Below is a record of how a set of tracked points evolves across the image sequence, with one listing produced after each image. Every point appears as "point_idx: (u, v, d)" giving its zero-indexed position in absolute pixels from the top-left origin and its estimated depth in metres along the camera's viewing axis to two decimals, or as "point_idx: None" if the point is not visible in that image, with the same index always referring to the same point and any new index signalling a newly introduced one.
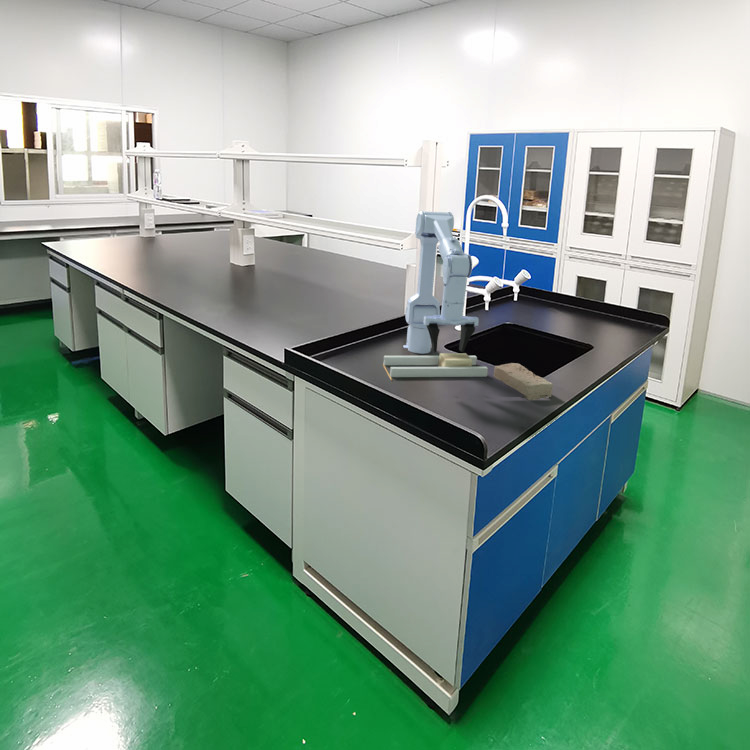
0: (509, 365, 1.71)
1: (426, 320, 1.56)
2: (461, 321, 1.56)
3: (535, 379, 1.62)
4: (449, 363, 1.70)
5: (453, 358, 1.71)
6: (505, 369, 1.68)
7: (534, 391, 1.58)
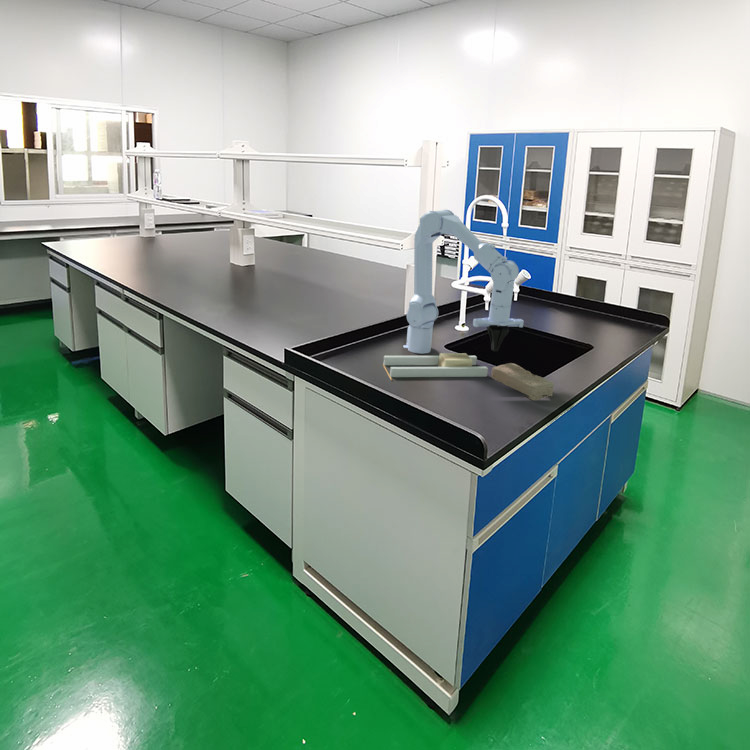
0: (506, 365, 1.70)
1: (476, 322, 1.69)
2: (508, 323, 1.69)
3: (536, 379, 1.62)
4: (449, 363, 1.70)
5: (453, 358, 1.71)
6: (504, 370, 1.67)
7: (538, 391, 1.58)
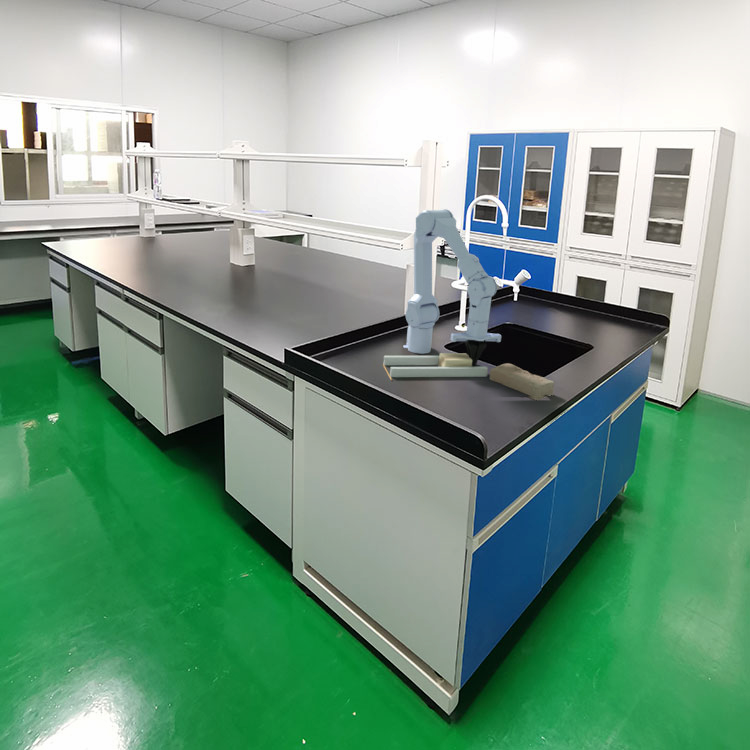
0: (503, 366, 1.70)
1: (453, 337, 1.70)
2: (485, 338, 1.70)
3: (536, 379, 1.63)
4: (449, 363, 1.70)
5: (453, 358, 1.71)
6: (503, 371, 1.66)
7: (541, 391, 1.58)
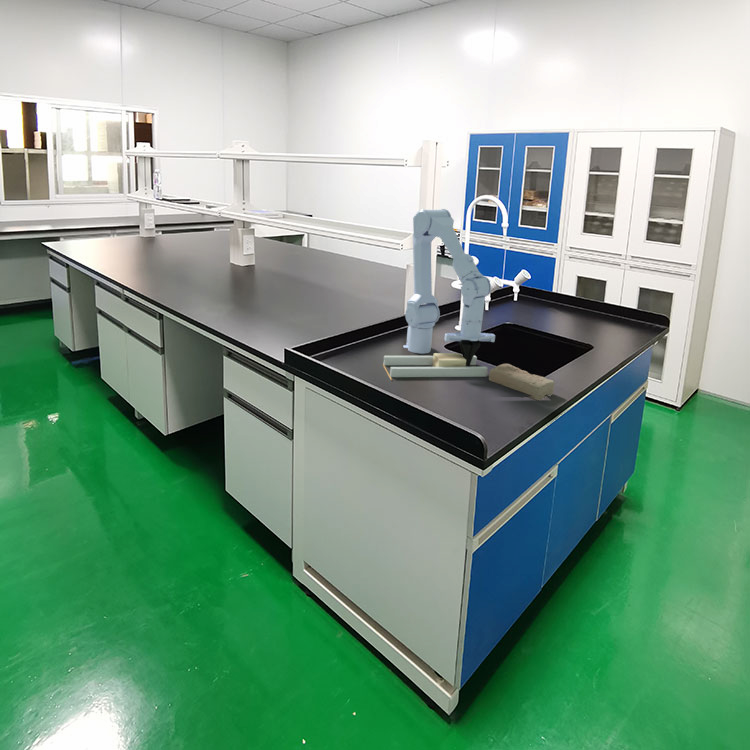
0: (502, 367, 1.69)
1: (447, 337, 1.69)
2: (479, 338, 1.69)
3: (536, 378, 1.63)
4: (443, 363, 1.70)
5: (447, 358, 1.71)
6: (502, 372, 1.66)
7: (542, 391, 1.58)
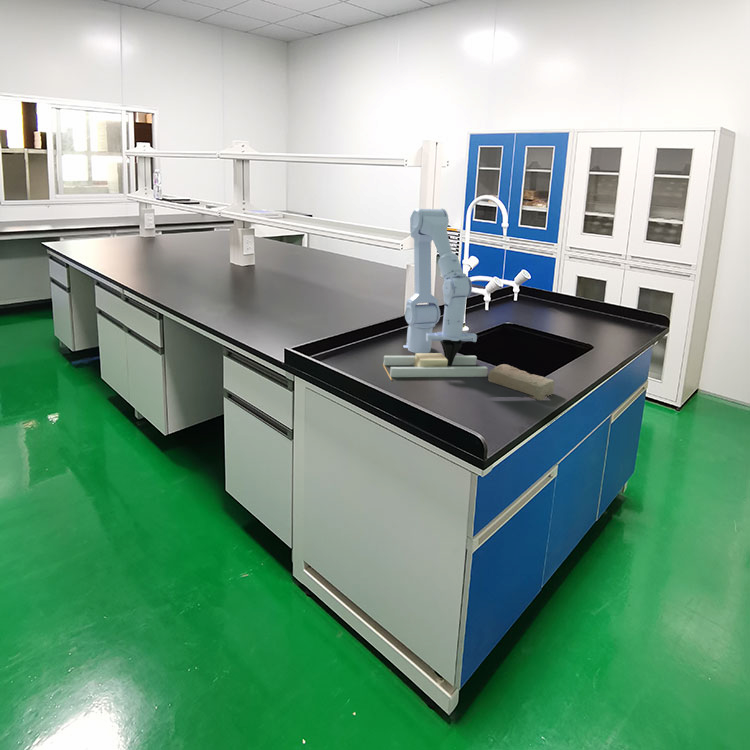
0: (500, 367, 1.69)
1: (428, 337, 1.68)
2: (461, 338, 1.68)
3: (536, 378, 1.63)
4: (425, 363, 1.69)
5: (428, 358, 1.70)
6: (502, 372, 1.65)
7: (544, 391, 1.59)
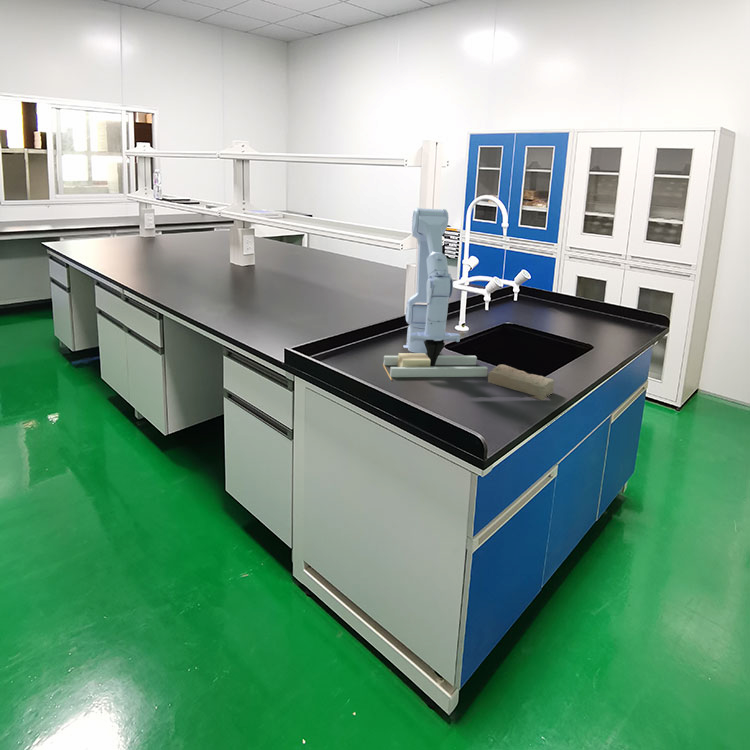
0: (499, 368, 1.68)
1: (411, 337, 1.67)
2: (443, 338, 1.67)
3: (537, 378, 1.63)
4: (407, 364, 1.68)
5: (411, 358, 1.69)
6: (502, 373, 1.64)
7: (546, 390, 1.59)
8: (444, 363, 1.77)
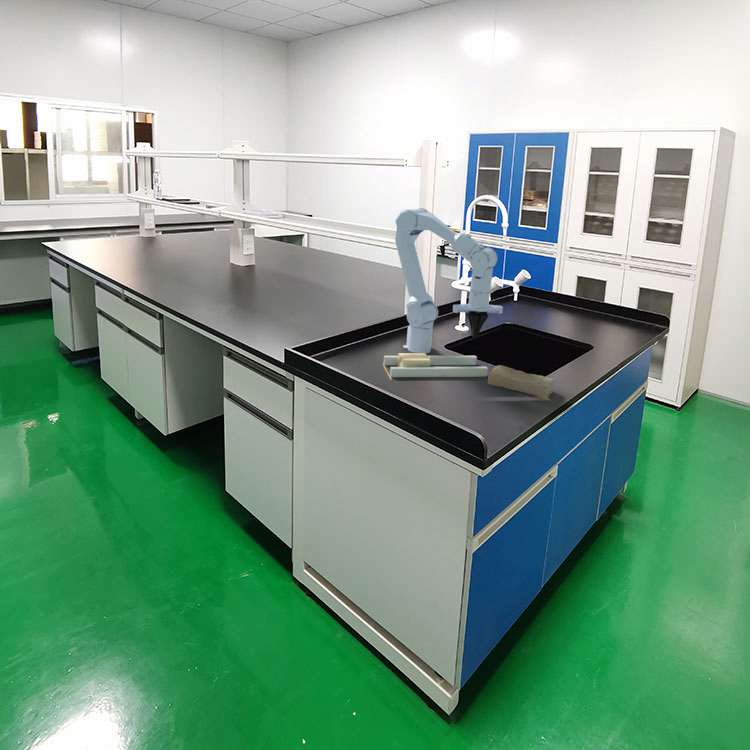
0: (498, 369, 1.67)
1: (455, 308, 1.72)
2: (487, 309, 1.72)
3: (537, 378, 1.63)
4: (407, 364, 1.68)
5: (411, 358, 1.69)
6: (503, 374, 1.64)
7: (548, 390, 1.59)
8: (444, 363, 1.77)
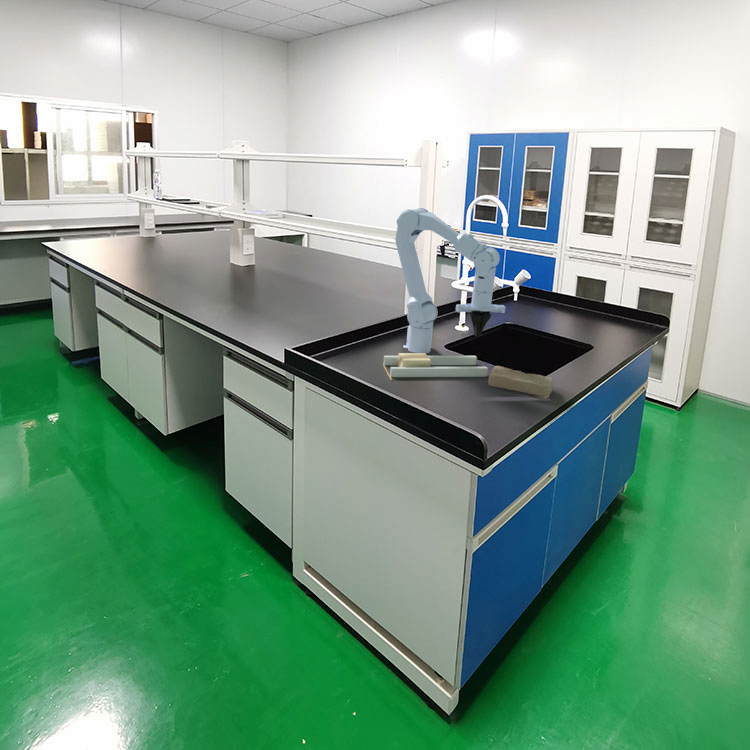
0: (497, 370, 1.67)
1: (458, 308, 1.73)
2: (490, 308, 1.73)
3: (537, 377, 1.63)
4: (407, 364, 1.68)
5: (411, 358, 1.69)
6: (503, 375, 1.63)
7: (549, 389, 1.60)
8: (444, 363, 1.77)
